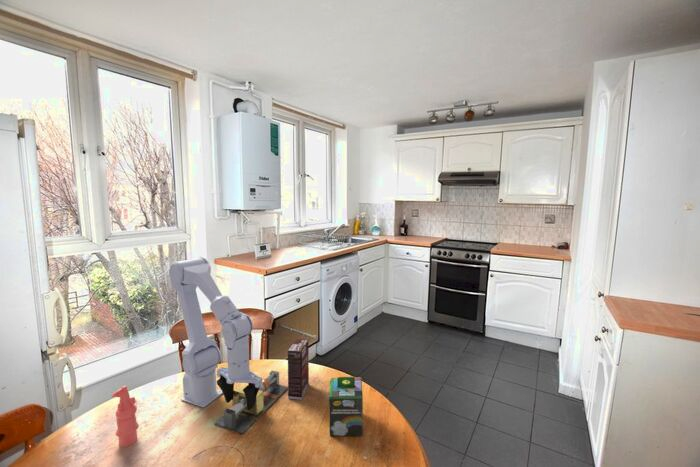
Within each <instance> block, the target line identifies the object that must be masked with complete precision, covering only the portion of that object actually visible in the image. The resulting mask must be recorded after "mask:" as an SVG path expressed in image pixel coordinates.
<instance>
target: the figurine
mask: <svg viewBox="0 0 700 467" xmlns="http://www.w3.org/2000/svg"><path fill="white" fill-rule="evenodd" d="M111 398H119V403H118V404H117V409H116V411H115V417H116V426H117V429H116V430H115V436H116V437H118V438H117V439H118V446H119V447H122V448H125V447H129V446H131V445H133V444H134V443H135V442H136V441H137V439H138V431H137V430H138V429H139V428H140V424H139V423H138V422H137V421H138V420H137V417H136V413H137V409H138V408H137V405H136V402H137V401H136V397H135V396H130V393H129V390H128V385H123V386H122V387H121V388H119V389H118V390H116V391H115V392H114V393H112V395H111Z"/></svg>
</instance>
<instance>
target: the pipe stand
mask: <svg viewBox="0 0 700 467" xmlns="http://www.w3.org/2000/svg"><path fill="white" fill-rule="evenodd" d="M259 390H260V391H263V408H264V409H263V410H262V411H261V412H260V413H259V414H258V415H254V414H250V413H247V412H244V411H243V410H244V409H246V408H247V401H246V397H243V398H242V399H241V400H240V401H238V402H237V403H236V404H235V405H234V406H233V405H232V406H231V407H230V408H225V410H223V415H222V416H221V417H220V418H219V419H217V420H216V422H214V425H215V426H217V427H220V428H223V429H225V430H228V431H231V432H233V433H237V434H240V435H244V434H245V433H246V431H247V430H248V429H249V428H250V427H252V425H253V424H254V423H256V421H257V420H259V419H260V417H262V415H264V414H265V412H266V411H267V410H268V409H269V408H270V407H271V406H272V405H273V404H274V403H275V402H276V401H277V400H278V399H279V398H280V397H281V396H282V395H283V394H284V393H285V392H286V391H288V386H286V385H282V384H280V372H279V371H276V370H271V371H270V372H269V375H267V377H265V378H262V385H261V387H260V389H259Z"/></svg>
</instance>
